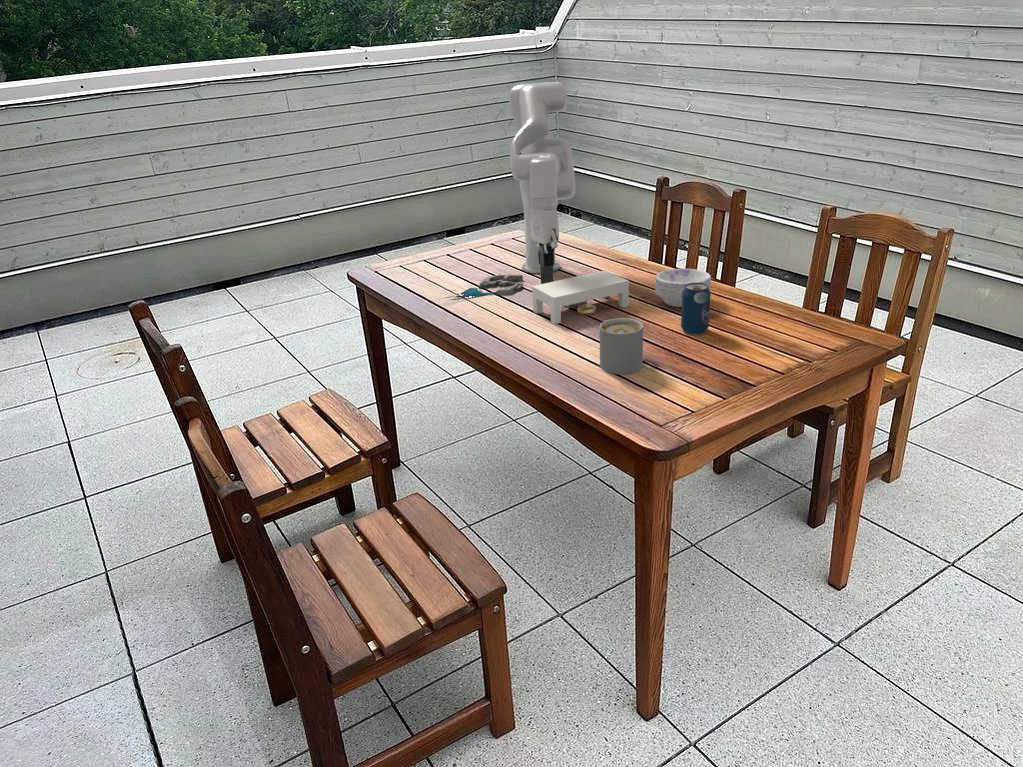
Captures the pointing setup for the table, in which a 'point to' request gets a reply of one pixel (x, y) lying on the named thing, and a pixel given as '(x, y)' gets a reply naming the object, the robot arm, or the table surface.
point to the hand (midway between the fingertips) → (546, 264)
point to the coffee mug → (621, 346)
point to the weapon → (496, 280)
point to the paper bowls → (678, 283)
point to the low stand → (578, 292)
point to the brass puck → (586, 309)
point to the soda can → (695, 308)
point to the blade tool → (550, 274)
